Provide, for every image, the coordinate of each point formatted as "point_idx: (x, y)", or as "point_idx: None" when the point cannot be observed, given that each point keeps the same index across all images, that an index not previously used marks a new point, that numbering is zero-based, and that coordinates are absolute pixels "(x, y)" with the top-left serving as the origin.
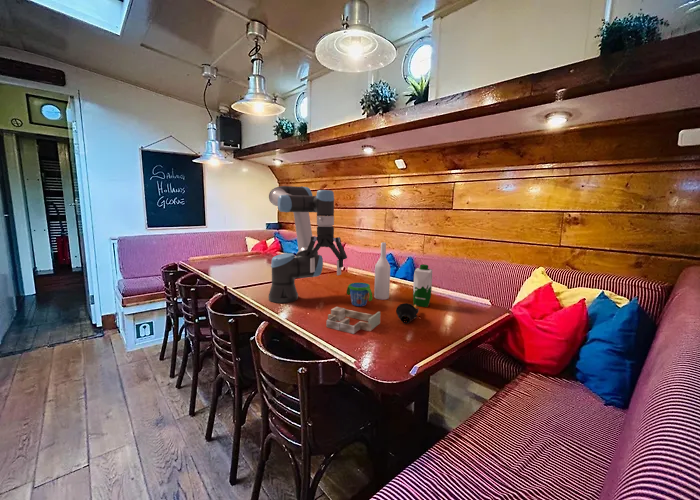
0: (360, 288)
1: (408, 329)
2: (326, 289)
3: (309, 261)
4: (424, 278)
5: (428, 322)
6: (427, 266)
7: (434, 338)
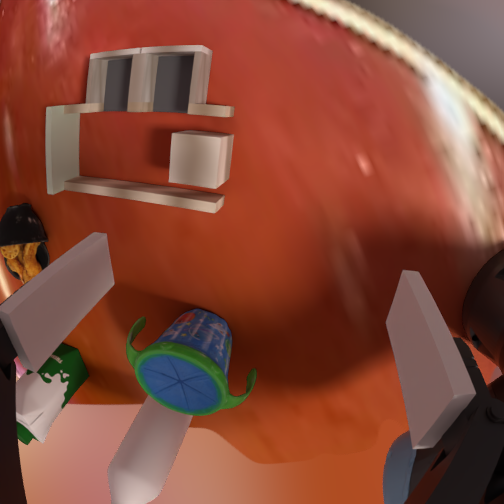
0: (151, 349)
1: (18, 176)
2: (377, 425)
3: (470, 368)
4: None
5: None
6: None
7: None
